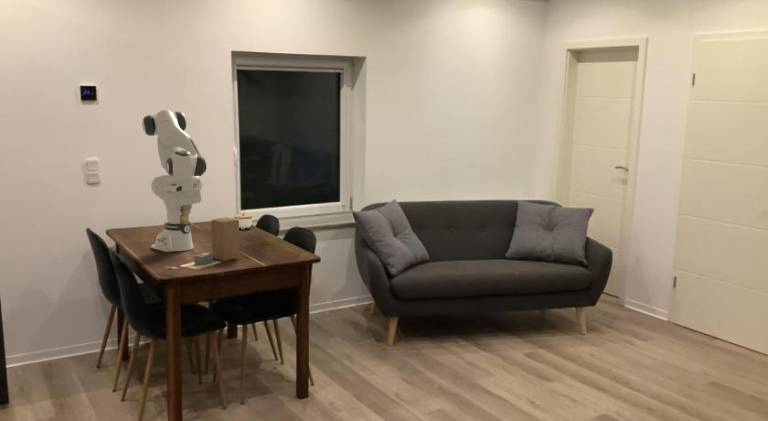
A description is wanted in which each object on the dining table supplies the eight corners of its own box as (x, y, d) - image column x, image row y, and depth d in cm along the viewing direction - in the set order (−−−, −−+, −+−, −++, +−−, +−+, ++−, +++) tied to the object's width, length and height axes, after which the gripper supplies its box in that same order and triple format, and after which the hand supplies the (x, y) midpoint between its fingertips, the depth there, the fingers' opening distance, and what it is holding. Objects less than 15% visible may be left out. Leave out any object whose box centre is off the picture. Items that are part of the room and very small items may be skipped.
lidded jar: (252, 229, 403) (252, 214, 402) (234, 230, 401) (234, 214, 399) (252, 226, 414) (251, 211, 412) (234, 226, 411) (234, 211, 410)
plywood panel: (178, 267, 311) (178, 265, 311) (203, 260, 325) (203, 258, 325) (198, 271, 306) (198, 269, 306) (222, 264, 320) (222, 261, 320)
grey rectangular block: (194, 263, 315) (194, 255, 314) (205, 260, 321) (204, 252, 320) (202, 265, 313) (202, 256, 312) (213, 262, 319) (212, 253, 318)
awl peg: (178, 223, 315) (177, 204, 314) (184, 222, 319) (183, 203, 317) (184, 224, 314) (183, 205, 312) (190, 223, 317) (190, 204, 315)
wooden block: (228, 255, 336) (227, 216, 333) (240, 259, 330) (239, 219, 327) (211, 259, 329) (210, 219, 326) (223, 262, 322) (222, 222, 319)
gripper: (194, 182, 323) (194, 210, 326) (162, 187, 306) (162, 217, 308) (203, 183, 320) (204, 212, 323) (172, 189, 303) (173, 218, 305)
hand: (183, 214), depth 315 cm, fingers closed on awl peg, 4 cm apart
